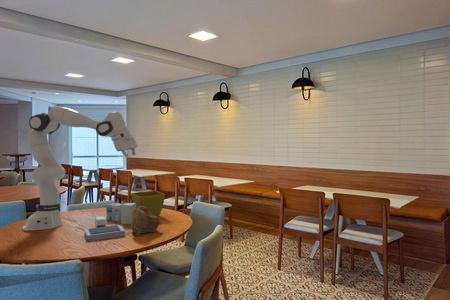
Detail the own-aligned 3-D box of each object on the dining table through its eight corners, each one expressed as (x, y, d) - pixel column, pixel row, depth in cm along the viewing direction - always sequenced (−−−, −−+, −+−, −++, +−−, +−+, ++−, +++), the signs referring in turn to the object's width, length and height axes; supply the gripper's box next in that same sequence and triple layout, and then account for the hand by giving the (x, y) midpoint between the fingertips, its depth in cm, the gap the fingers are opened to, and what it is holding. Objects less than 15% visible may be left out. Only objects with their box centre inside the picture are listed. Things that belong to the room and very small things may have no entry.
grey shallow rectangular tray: (87, 241, 177) (87, 234, 177) (84, 234, 190) (84, 228, 190) (124, 235, 187) (124, 229, 187) (119, 229, 199) (119, 224, 199)
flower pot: (165, 217, 232) (165, 193, 231) (139, 221, 221) (139, 196, 221) (155, 212, 248) (155, 190, 247) (130, 215, 237) (130, 192, 236)
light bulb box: (106, 219, 225) (105, 204, 225) (112, 217, 231) (112, 202, 231) (118, 221, 221) (118, 205, 221) (125, 219, 227) (124, 203, 227)
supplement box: (131, 224, 213) (131, 205, 212) (121, 223, 214) (120, 204, 214) (136, 221, 220) (136, 203, 219) (126, 221, 221) (126, 202, 221)
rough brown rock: (157, 238, 185) (159, 211, 185) (127, 236, 183) (129, 210, 184) (160, 228, 208) (162, 205, 209) (134, 227, 207) (136, 203, 207)
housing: (97, 231, 197) (97, 219, 197) (95, 228, 204) (95, 217, 204) (105, 230, 199) (105, 218, 199) (103, 227, 206) (103, 216, 206)
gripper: (127, 136, 217) (134, 155, 217) (109, 138, 197) (117, 159, 198) (134, 133, 216) (142, 152, 216) (117, 134, 196) (126, 156, 196)
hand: (130, 156), depth 207 cm, fingers open, 8 cm apart
